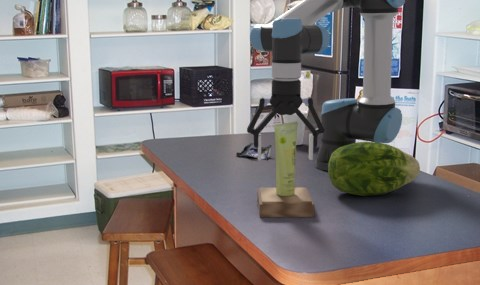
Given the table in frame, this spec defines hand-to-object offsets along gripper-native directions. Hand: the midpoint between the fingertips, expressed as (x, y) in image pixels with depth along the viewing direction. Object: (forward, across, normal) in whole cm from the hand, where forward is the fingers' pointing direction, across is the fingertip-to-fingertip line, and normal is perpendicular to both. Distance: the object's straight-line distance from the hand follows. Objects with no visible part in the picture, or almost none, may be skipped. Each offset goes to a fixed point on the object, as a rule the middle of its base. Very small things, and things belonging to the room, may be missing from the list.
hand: (285, 159), depth 166 cm
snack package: (+14, +6, -61) cm, 63 cm away
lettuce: (+14, -27, -13) cm, 33 cm away
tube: (+10, 0, 0) cm, 10 cm away
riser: (+14, 0, 0) cm, 14 cm away
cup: (+14, -11, -81) cm, 83 cm away
